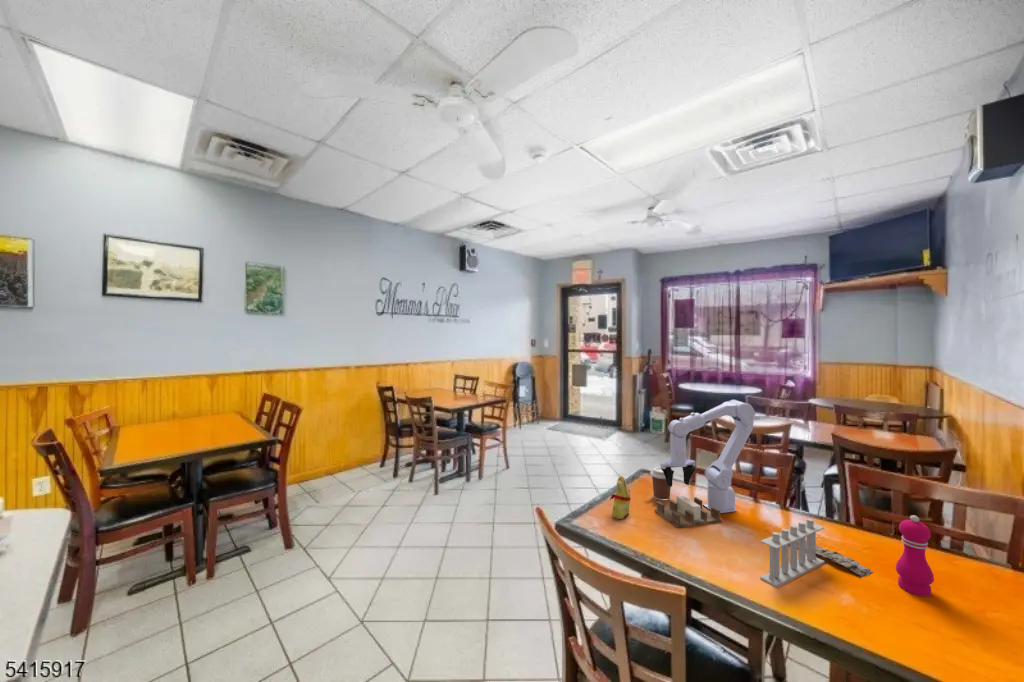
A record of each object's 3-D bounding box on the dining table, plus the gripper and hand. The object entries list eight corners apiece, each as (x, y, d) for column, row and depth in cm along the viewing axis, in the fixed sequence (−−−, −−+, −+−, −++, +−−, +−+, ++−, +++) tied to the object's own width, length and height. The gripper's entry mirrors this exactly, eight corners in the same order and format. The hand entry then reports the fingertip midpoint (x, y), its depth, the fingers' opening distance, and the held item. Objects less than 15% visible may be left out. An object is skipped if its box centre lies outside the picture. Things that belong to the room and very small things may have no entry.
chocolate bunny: (634, 511, 155) (633, 473, 155) (622, 521, 146) (622, 481, 146) (617, 507, 159) (617, 470, 159) (605, 516, 151) (605, 477, 150)
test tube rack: (776, 588, 108) (776, 540, 107) (760, 579, 111) (760, 532, 111) (824, 563, 119) (824, 520, 119) (808, 556, 123) (808, 514, 123)
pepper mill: (938, 601, 102) (938, 524, 101) (900, 591, 105) (900, 517, 105) (928, 586, 108) (928, 513, 108) (892, 577, 112) (892, 507, 111)
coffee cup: (652, 501, 164) (652, 472, 164) (648, 492, 173) (648, 465, 173) (675, 502, 163) (675, 473, 163) (670, 494, 172) (670, 466, 172)
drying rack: (696, 506, 159) (696, 496, 159) (722, 522, 146) (722, 511, 146) (654, 511, 155) (654, 501, 155) (677, 527, 141) (677, 516, 141)
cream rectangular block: (683, 508, 155) (683, 495, 155) (700, 519, 145) (700, 506, 145) (676, 508, 154) (676, 496, 154) (693, 520, 145) (693, 506, 145)
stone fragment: (866, 583, 111) (876, 571, 116) (866, 573, 111) (877, 561, 116) (767, 544, 131) (780, 534, 137) (767, 535, 131) (780, 526, 137)
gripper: (668, 455, 152) (668, 490, 152) (700, 452, 155) (700, 487, 155) (657, 450, 158) (657, 483, 159) (688, 447, 162) (688, 480, 162)
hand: (678, 485), depth 157 cm, fingers open, 7 cm apart
